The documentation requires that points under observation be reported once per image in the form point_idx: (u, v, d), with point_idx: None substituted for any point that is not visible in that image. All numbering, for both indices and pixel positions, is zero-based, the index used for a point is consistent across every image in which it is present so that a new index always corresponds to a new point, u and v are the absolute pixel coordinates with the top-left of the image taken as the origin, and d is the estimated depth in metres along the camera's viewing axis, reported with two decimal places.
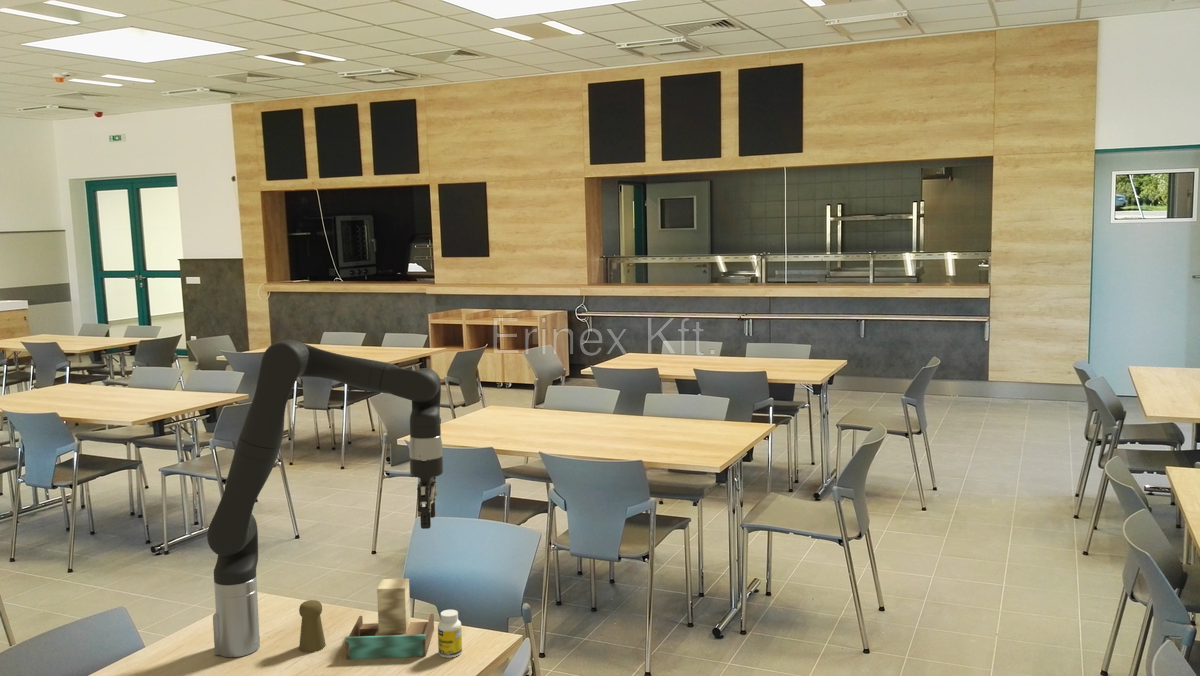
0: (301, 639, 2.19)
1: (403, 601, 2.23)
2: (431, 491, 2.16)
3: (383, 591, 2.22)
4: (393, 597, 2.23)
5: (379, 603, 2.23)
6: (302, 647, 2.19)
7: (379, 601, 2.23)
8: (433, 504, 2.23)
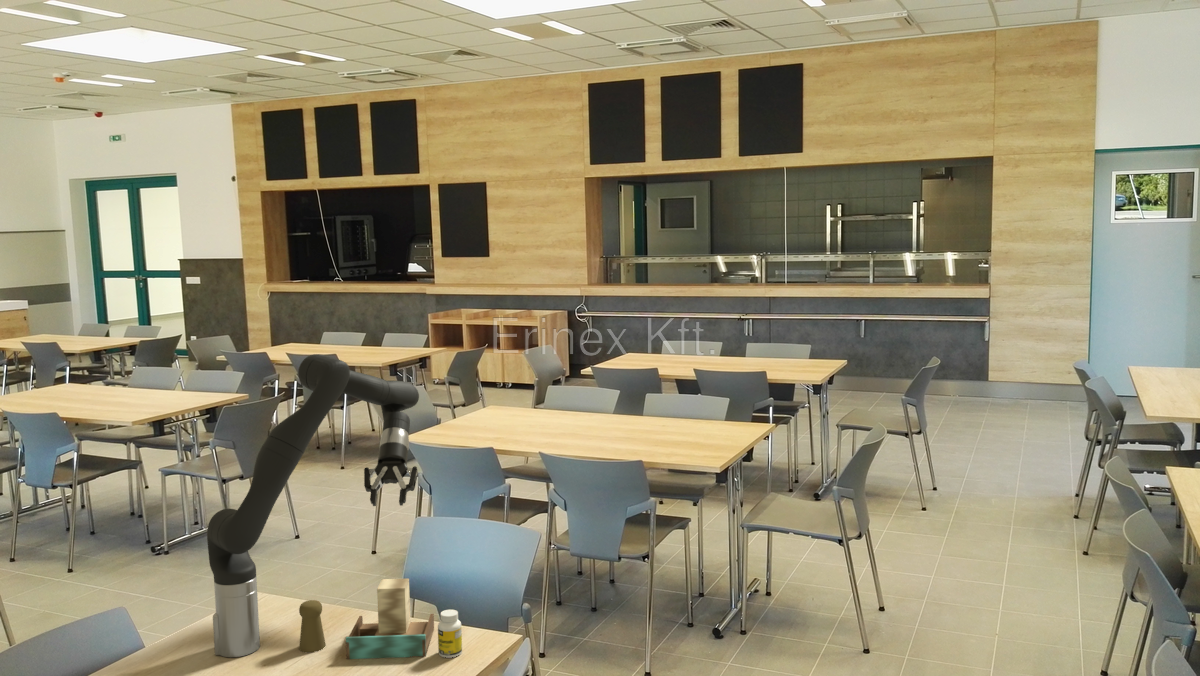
0: (301, 639, 2.19)
1: (403, 601, 2.23)
2: None
3: (383, 591, 2.22)
4: (393, 597, 2.23)
5: (379, 603, 2.23)
6: (302, 647, 2.19)
7: (379, 601, 2.23)
8: None
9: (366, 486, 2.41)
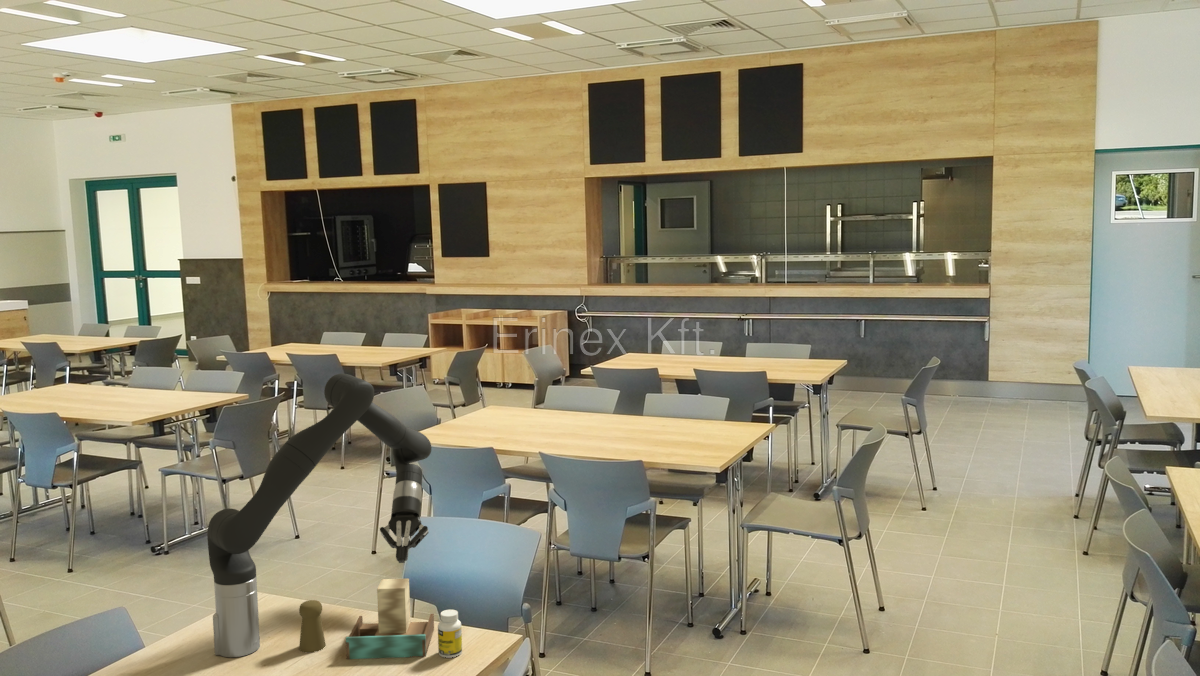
0: (301, 639, 2.19)
1: (403, 601, 2.23)
2: None
3: (383, 591, 2.22)
4: (393, 597, 2.23)
5: (379, 603, 2.23)
6: (302, 647, 2.19)
7: (379, 601, 2.23)
8: None
9: (392, 543, 2.41)
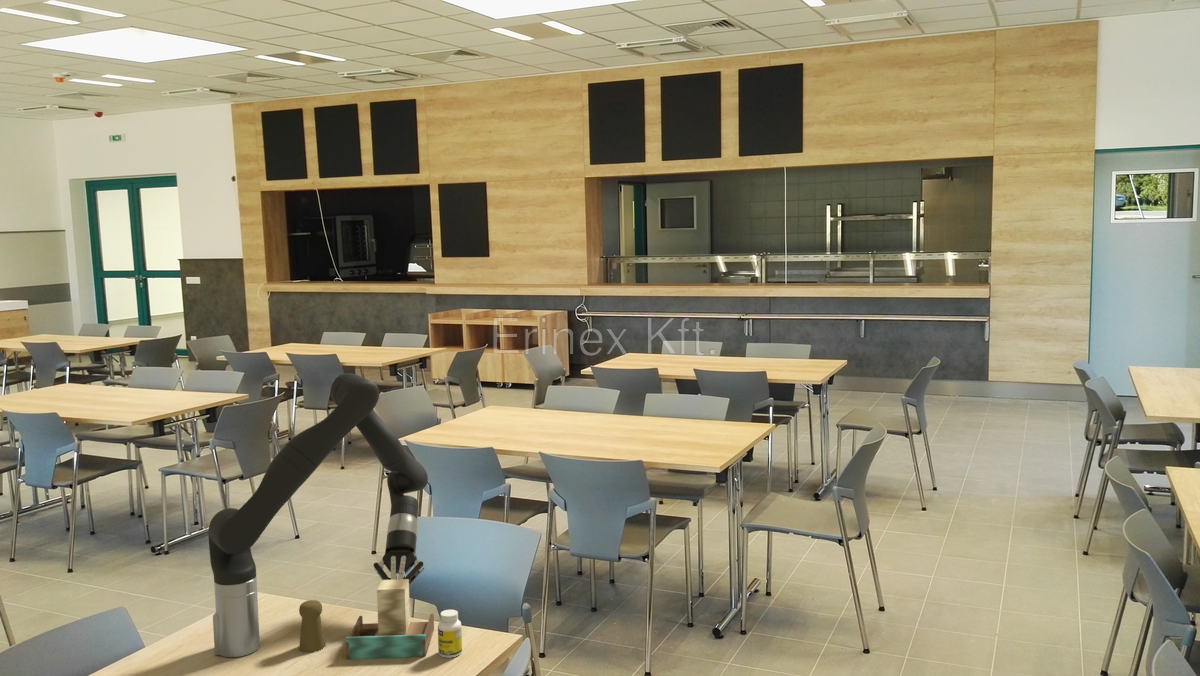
0: (301, 639, 2.19)
1: (403, 602, 2.22)
2: None
3: (382, 592, 2.22)
4: (393, 597, 2.22)
5: (379, 604, 2.22)
6: (302, 647, 2.19)
7: (379, 602, 2.22)
8: None
9: (386, 579, 2.31)
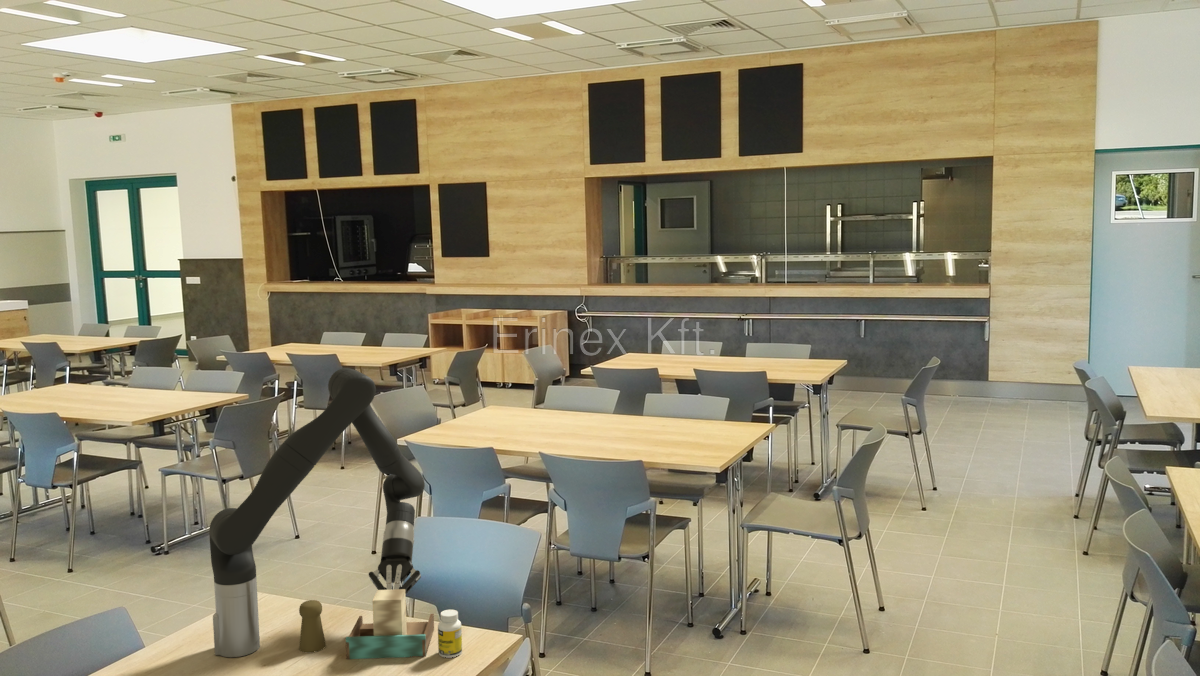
0: (301, 639, 2.19)
1: (399, 613, 2.16)
2: None
3: (378, 602, 2.15)
4: (389, 608, 2.16)
5: (374, 615, 2.16)
6: (302, 647, 2.19)
7: (374, 613, 2.15)
8: None
9: (381, 589, 2.25)
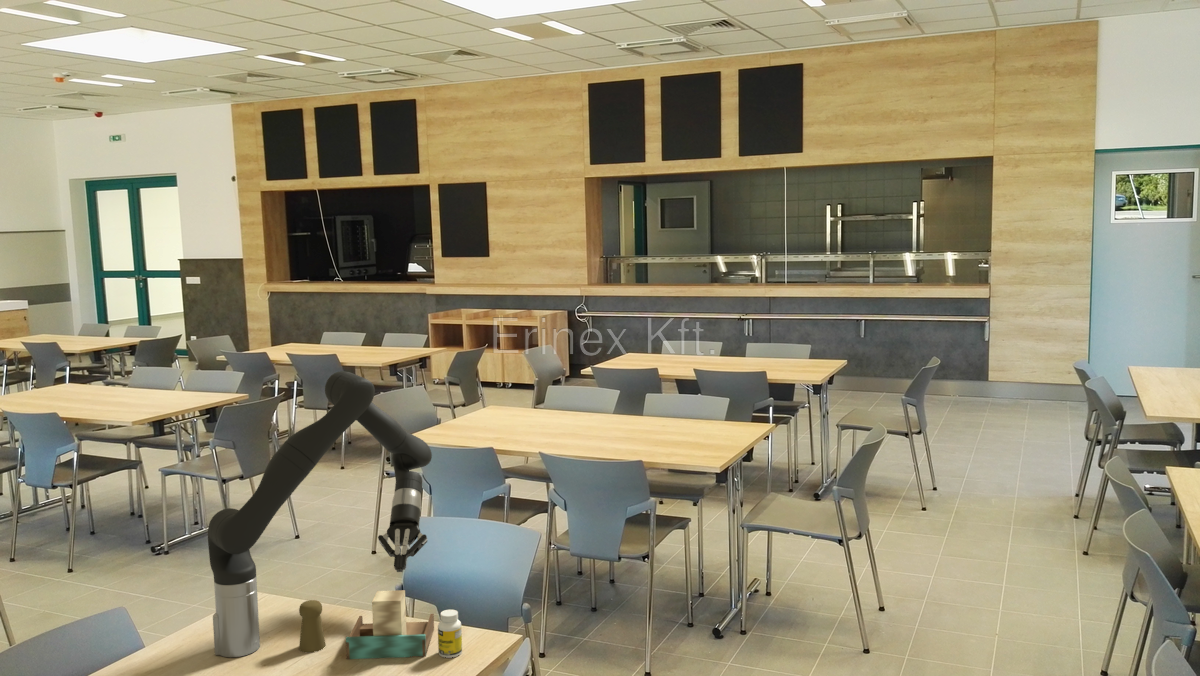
0: (301, 639, 2.19)
1: (399, 614, 2.15)
2: None
3: (378, 603, 2.15)
4: (389, 609, 2.15)
5: (374, 616, 2.15)
6: (302, 647, 2.19)
7: (374, 614, 2.15)
8: None
9: (390, 551, 2.37)
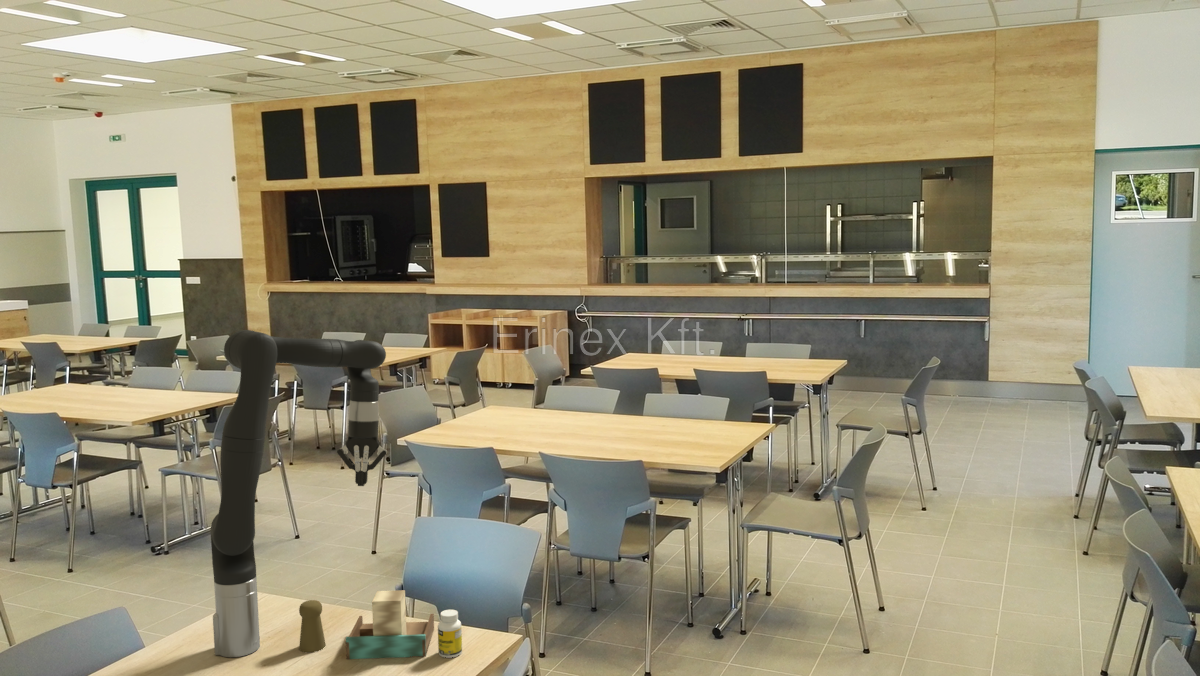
0: (301, 639, 2.19)
1: (399, 614, 2.15)
2: None
3: (378, 603, 2.15)
4: (389, 609, 2.15)
5: (374, 616, 2.15)
6: (302, 647, 2.19)
7: (374, 614, 2.15)
8: None
9: (350, 467, 2.39)
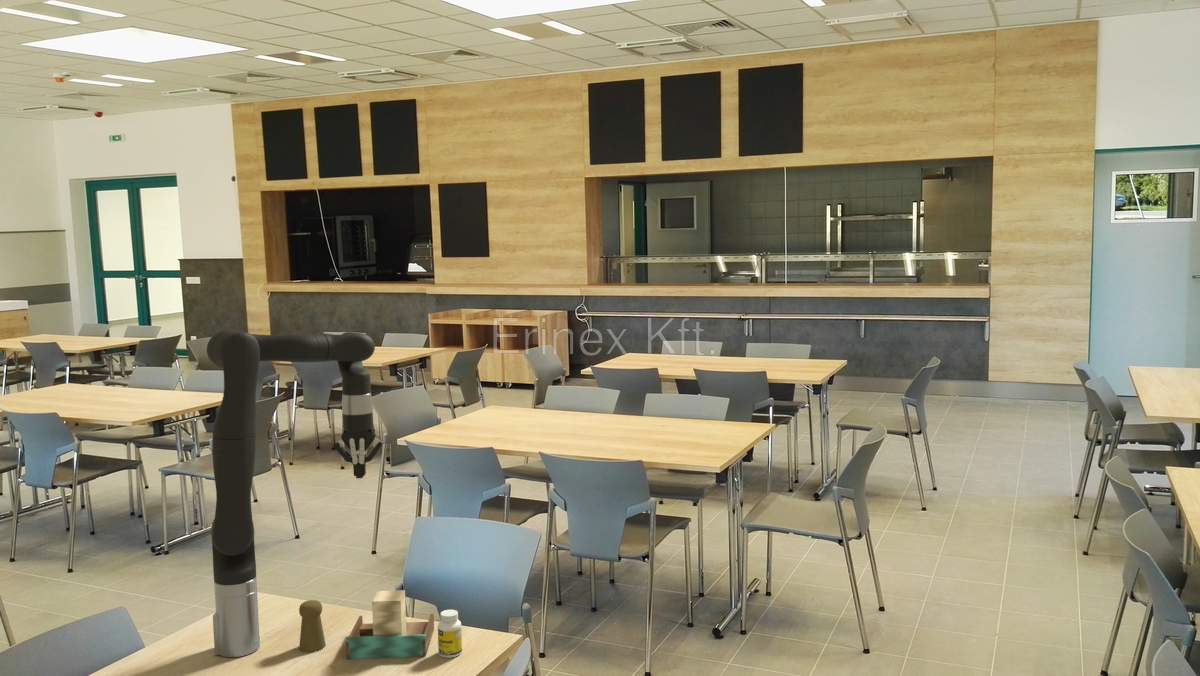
0: (301, 639, 2.19)
1: (399, 614, 2.15)
2: None
3: (378, 603, 2.15)
4: (389, 609, 2.15)
5: (374, 616, 2.15)
6: (302, 647, 2.19)
7: (374, 614, 2.15)
8: None
9: (347, 461, 2.38)
